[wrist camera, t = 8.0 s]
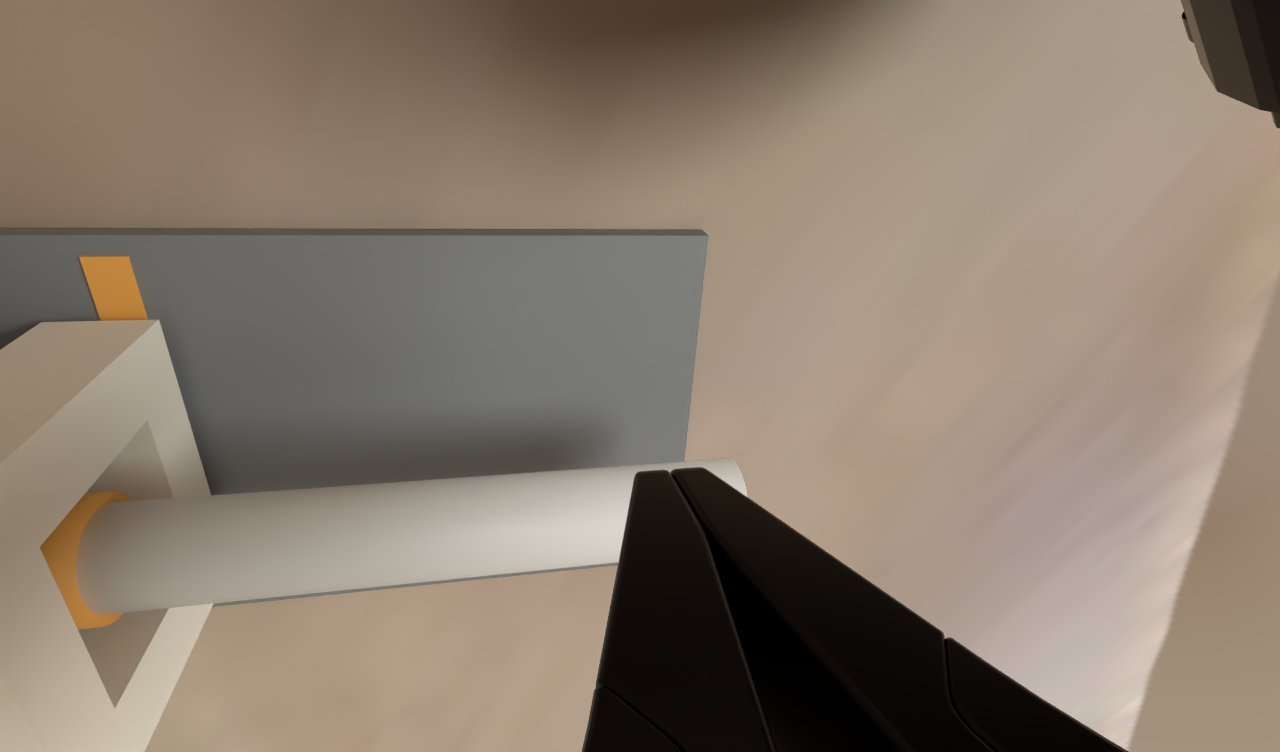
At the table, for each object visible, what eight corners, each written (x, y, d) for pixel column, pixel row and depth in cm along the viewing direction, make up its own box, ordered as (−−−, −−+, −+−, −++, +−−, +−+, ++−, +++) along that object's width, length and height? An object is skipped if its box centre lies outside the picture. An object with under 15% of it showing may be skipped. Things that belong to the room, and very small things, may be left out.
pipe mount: (702, 229, 19) (824, 346, 12) (669, 548, 25) (741, 752, 18) (-367, 227, 14) (-1164, 420, 7) (-110, 625, 20) (-429, 948, 13)
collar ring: (158, 319, 16) (-79, 536, 9) (231, 564, 20) (98, 849, 13) (41, 322, 16) (-302, 553, 9) (137, 573, 20) (-52, 874, 13)
